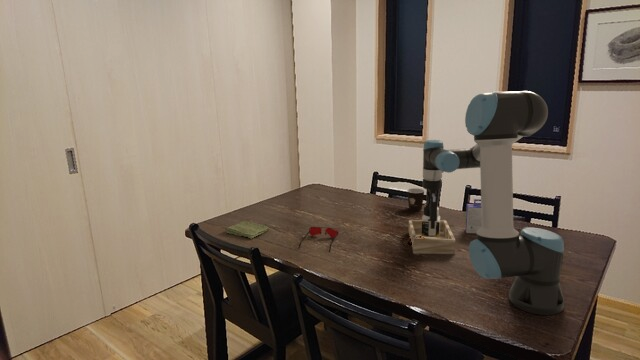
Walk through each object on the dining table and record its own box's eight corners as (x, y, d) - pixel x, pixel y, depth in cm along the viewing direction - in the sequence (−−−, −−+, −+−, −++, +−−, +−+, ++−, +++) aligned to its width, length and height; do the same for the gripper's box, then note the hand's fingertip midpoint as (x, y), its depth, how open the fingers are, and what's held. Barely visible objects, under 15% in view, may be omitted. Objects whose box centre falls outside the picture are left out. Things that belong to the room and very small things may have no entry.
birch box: (454, 254, 166) (455, 240, 165) (413, 253, 168) (413, 239, 167) (445, 232, 187) (445, 220, 186) (408, 232, 189) (408, 220, 188)
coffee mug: (403, 208, 222) (403, 189, 219) (417, 205, 225) (417, 187, 222) (417, 214, 211) (417, 195, 209) (431, 211, 215) (431, 192, 212)
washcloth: (252, 241, 188) (251, 234, 187) (224, 234, 197) (223, 227, 196) (271, 231, 198) (271, 225, 197) (243, 225, 208) (243, 218, 207)
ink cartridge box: (487, 229, 189) (489, 198, 185) (490, 234, 184) (492, 202, 180) (464, 228, 191) (466, 198, 187) (466, 233, 186) (467, 202, 182)
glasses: (339, 237, 187) (339, 227, 186) (329, 253, 172) (329, 242, 171) (309, 235, 191) (309, 225, 190) (297, 250, 176) (296, 239, 175)
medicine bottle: (421, 236, 174) (421, 209, 171) (422, 230, 181) (423, 203, 178) (439, 238, 172) (440, 210, 169) (439, 231, 179) (440, 204, 176)
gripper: (446, 185, 160) (443, 241, 166) (437, 172, 180) (436, 222, 186) (426, 185, 161) (424, 241, 167) (419, 172, 181) (418, 222, 187)
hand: (430, 231), depth 176 cm, fingers closed on medicine bottle, 8 cm apart
